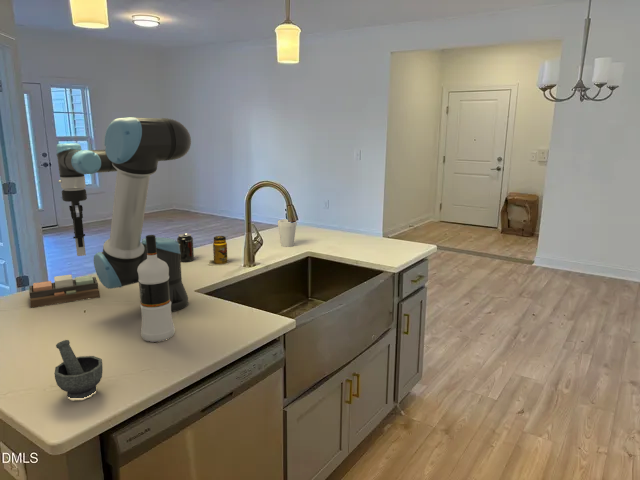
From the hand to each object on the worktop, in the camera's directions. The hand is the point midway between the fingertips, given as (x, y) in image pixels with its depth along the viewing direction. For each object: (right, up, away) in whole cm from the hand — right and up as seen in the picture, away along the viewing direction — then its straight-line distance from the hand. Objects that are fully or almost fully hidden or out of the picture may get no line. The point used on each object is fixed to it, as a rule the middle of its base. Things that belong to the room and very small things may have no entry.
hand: (81, 255), depth 167 cm
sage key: (0, -11, +3) cm, 12 cm away
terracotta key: (-11, -13, -4) cm, 18 cm away
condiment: (+40, -5, +44) cm, 59 cm away
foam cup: (+68, +2, +75) cm, 101 cm away
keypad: (-6, -15, 0) cm, 16 cm away
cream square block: (-6, -11, -1) cm, 12 cm away
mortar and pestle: (+30, -30, -60) cm, 74 cm away
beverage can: (+24, -4, +47) cm, 53 cm away
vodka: (+38, -23, -31) cm, 54 cm away
